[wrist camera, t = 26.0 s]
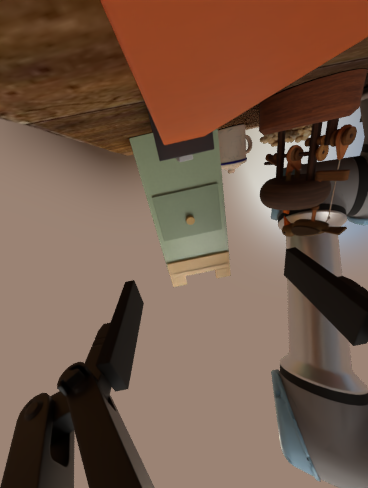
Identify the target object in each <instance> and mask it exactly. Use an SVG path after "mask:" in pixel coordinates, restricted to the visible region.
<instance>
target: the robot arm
mask: <svg viewBox="0 0 368 488" xmlns="http://www.w3.org/2000/svg"><path fill="white" fill-rule="evenodd" d="M360 109H361V119H360V122H363V129H364V135H365V138H364V144H363V147H362V151H361V154H360V156H356V157H349V158H343V159H341V160H340V165H339V170H346V169H349V170H350V173H349V177H348V180H345V181H336V185H335V190H334V195H333V200H332V205H331V210H330V215H329V209H330V204H331V199H332V194H333V189H334V184H335V181H330V183H331V192H330V194H329V196H328V198H327V199H326V200H325V201H324V202H322V203H321V204H319V209H318V210H317V211H316V217H315V220H320V221H324V222H326V220H327V217H328V215H329V216H330V219H328V221H327V223H329V227H341V226H342V225H343V224H344V223H345V222H346V221H347V219H348V220H349V221H350V222H353V223H355V224H360V225H368V87H367V88H365V89H363V93H362V97H361V102H360ZM338 163H339V160H338V159H336V160H329V161H322V162H317V163H316V170H315V174H316V171H322V170H337V169H338ZM286 169H287V167H286V168H283V176H286V175H285V174H286ZM306 173H307V164H301V171H300V174H306ZM294 174H295V169H294V170H293V171H292V175H294ZM284 216H285V217H286V218H287V219H288V221H289V222H290V223H294V222H295V221H296V220H299V219H311V217H312V210H311V208H307V209H301V210H289V214H286V213H283V210H277V209H272V213H271V219H274V220H278V226H279V228H280V229H281V230H282V228H283V226H284ZM286 247H287V248H286V258H285V269H284V276H286V278H287V285H288V323H289V353H288V355H286V356H285V357H283V358H282V359H281V360H280V371H279V370H273V371H272V372H271V374H272V382H273V390H274V398H275V406H276V414H277V422H278V429H279V437H280V444H281V449H282V452H283V454H284V456H285V457H286V459H287V460H288V461H289V462H290V463H291V464H292V465H293V466H295V467H297V468H299V469H300V470H302V471H304V472H306V473H308V474H310V475H312V476H314V477H315V479H316V480H317V481H320V479H322V480H323V481H325V482H328V483H330V484H332V485H334V486H336V487H338V488H368V388H367V386H366V385H365V384H364V383H363V382H362V381H361V380H360V379H359V377H358V376H357V375H356V374H355V373H354V372H353V370H352V364H351V355H350V347H349V346H350V345H349V342H350V343H351V344H352V345H353V346H355V345H361V344H366V343H367V342H368V291H367V290H366V289H365V288H363V287H361V286H360V285H358V284H357V283H356V282H354V281H353V280H351V279H348V278H346V277H343V276H342V269H341V261H340V250H339V240H338V235H335V234H331V233H326V232H324V233H322V234H318V235H312V236H296V235H294V236H292V237H287V236H286ZM143 304H144V303H143V301H142V298H141V296H140V293H139V291H138V288H137V286H136V284H135V281H134V280H133V281H128V282H125V284H124V288H123V290H122V293H121V296H120V298H119V301H118V304H117V307H116V309H115V312H114V315H113V318H112V320H111V323H107V324H103V326H102V327H101V328H100V330H99V331H98V333H97V335H96V338H95V341H94V342H93V345H92V347H91V350H90V352H89V354H88V357H87V359H86V362H85V364H84V363H83V362H77V363H75V364H73V365H71V366H70V367H68V368H67V369H66V370H65V371H64V372H63V374H62V375H61V377H60V378H59V381H58V384H57V389H59V390H60V391H59V392H58V393H56V394H54V395H52V396H49V395H48V394H47V393H41V394H39V395H37V396H35V397H34V398H33V399H31V400H30V401H29V402H28V403H27V404H26V405H25V407H24V408H23V410H22V411H21V413H20V415H19V417H18V420H17V423H16V427H15V431H14V435H13V439H12V443H11V447H10V452H9V455H8V459H7V463H6V467H5V471H4V475H3V479H2V483H1V487H0V488H74V430H75V434H76V438H77V442H78V446H79V450H80V454H81V458H82V462H83V465H84V469H85V473H86V477H87V481H88V485H89V488H154V486H153V484H152V481H151V479H150V477H149V475H148V473H147V471H146V469H145V467H144V465H143V463H142V460H141V458H140V456H139V454H138V452H137V450H136V448H135V446H134V444H133V441H132V439H131V438H130V435H129V433H128V431H127V429H126V427H125V425H124V423H123V421H122V418H121V416H120V414H119V412H118V410H117V408H116V406H115V404H114V402H113V400H112V397H111V396H110V391H111V387H112V388H113V389H114V390H115V391H120V390H125V389H128V386H129V381H130V376H131V370H132V365H133V359H134V354H135V348H136V342H137V337H138V332H139V326H140V321H141V315H142V309H143Z"/></svg>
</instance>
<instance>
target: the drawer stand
mask: <svg viewBox="0 0 368 488" xmlns="http://www.w3.org/2000/svg"><path fill="white" fill-rule="evenodd" d="M129 139H130V143H131V146H132V150H133V153H134V156H135V159H136V163H137V167H138V170H139V173H140V176H141V180H142V184H143V187H144V190H145V194H146V197H147V200H148V204H149V207H150V211H151V214H152V217H153V221H154V224H155V227H156V231H157V234H158V238H159V241H160V245H161V248H162V251H163V255H164V258H165V261H166V264H167V268H168V271H169V274H170V277H171V280H172V283H173V287H177V286H182V285H186V284H187V280H186V276H188V275H193V274H198V273H202V272H207V271H212V270H215V273H216V278H220V277H226V276H230V275H231V274H230V263H229V250H228V240H227V228H226V217H225V206H224V194H223V183H222V173H221V161H220V150H219V139H218V128H217V129H216V130H214V131H213V139H214V150H209V151H205V152H200V153H196V154H192V155H193V159H192V160H187V161H183V162H179V161H177V158H173V159H169V160H164V161H159V157H158V152H157V148H156V144H155V140H154V136H153V133H150V134H146V135H141V136H137V137H132V138H129Z"/></svg>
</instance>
